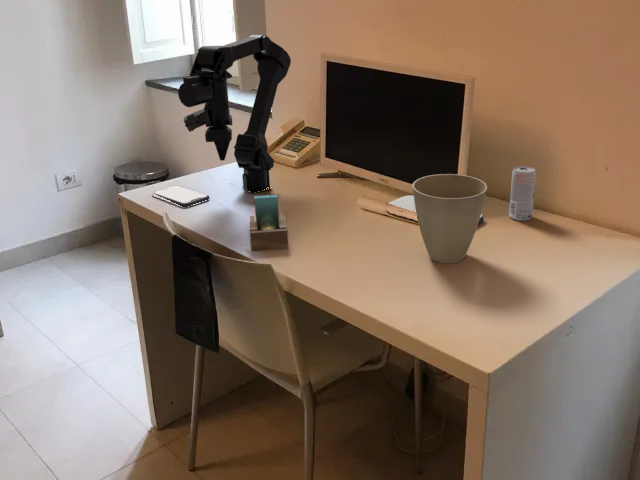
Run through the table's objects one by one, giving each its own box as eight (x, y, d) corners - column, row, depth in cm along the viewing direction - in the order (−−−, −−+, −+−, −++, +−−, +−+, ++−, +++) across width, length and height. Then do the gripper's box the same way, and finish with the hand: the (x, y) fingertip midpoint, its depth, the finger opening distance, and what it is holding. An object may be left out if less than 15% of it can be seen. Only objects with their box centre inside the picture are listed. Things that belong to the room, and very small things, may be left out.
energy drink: (529, 213, 166) (534, 165, 161) (533, 221, 161) (538, 172, 156) (507, 213, 166) (510, 165, 161) (510, 221, 161) (514, 172, 157)
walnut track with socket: (250, 223, 166) (249, 206, 164) (284, 221, 166) (283, 204, 165) (251, 251, 150) (249, 233, 149) (288, 248, 151) (287, 230, 149)
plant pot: (398, 249, 149) (399, 180, 142) (458, 238, 153) (461, 170, 147) (432, 277, 136) (435, 202, 129) (496, 264, 140) (502, 190, 134)
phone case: (150, 198, 188) (184, 210, 177) (150, 192, 187) (183, 204, 176) (177, 189, 193) (211, 201, 183) (177, 184, 193) (211, 195, 182)
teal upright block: (257, 233, 160) (254, 196, 156) (279, 231, 160) (277, 194, 156) (258, 247, 152) (254, 208, 149) (281, 245, 153) (278, 206, 149)
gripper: (186, 93, 176) (192, 152, 182) (180, 109, 159) (188, 173, 165) (229, 91, 177) (234, 149, 183) (228, 106, 160) (234, 170, 166)
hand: (222, 160), depth 174 cm, fingers closed
